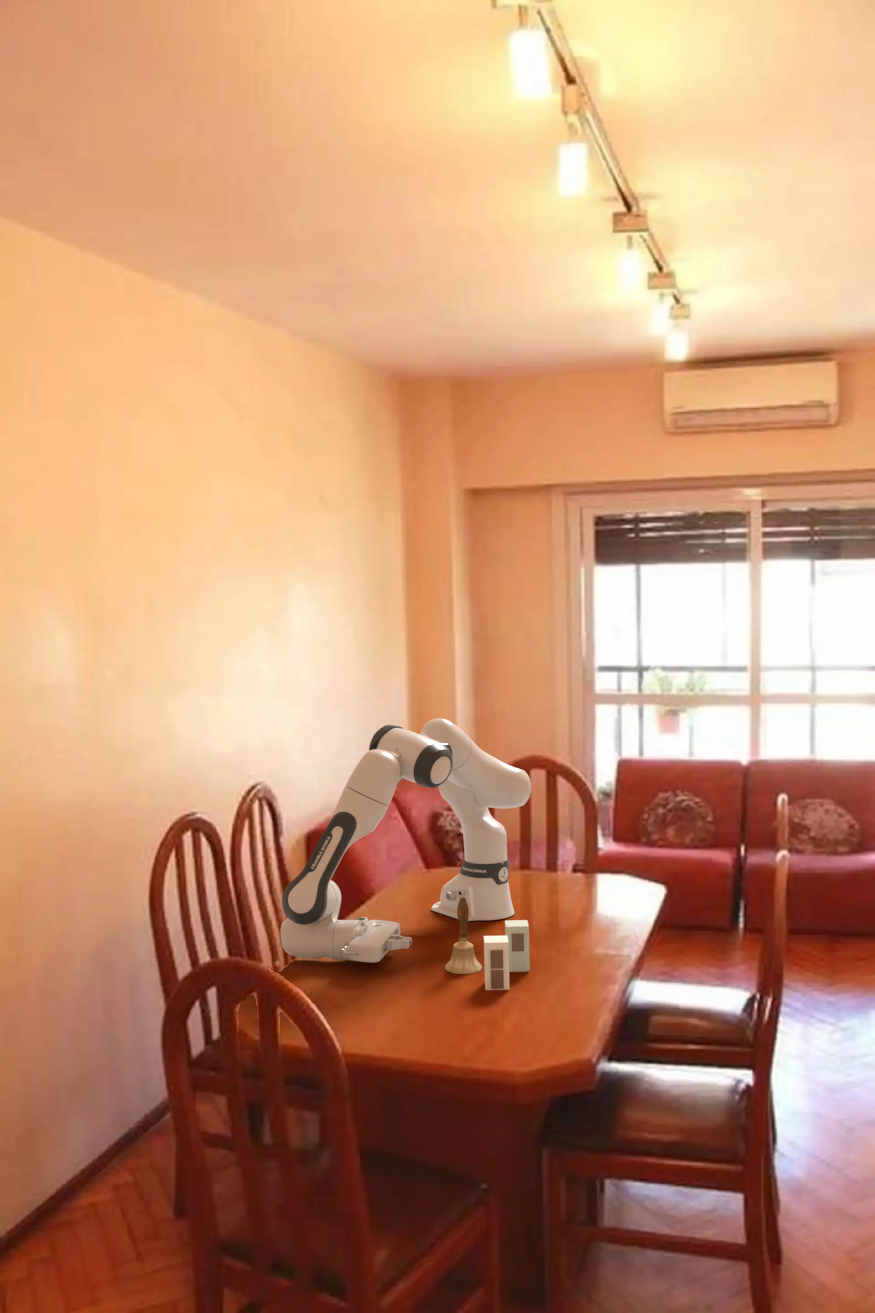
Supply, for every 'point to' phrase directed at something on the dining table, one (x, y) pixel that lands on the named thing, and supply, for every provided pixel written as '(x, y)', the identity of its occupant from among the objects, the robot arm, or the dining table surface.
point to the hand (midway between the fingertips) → (410, 943)
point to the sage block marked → (518, 945)
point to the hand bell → (463, 946)
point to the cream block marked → (496, 962)
